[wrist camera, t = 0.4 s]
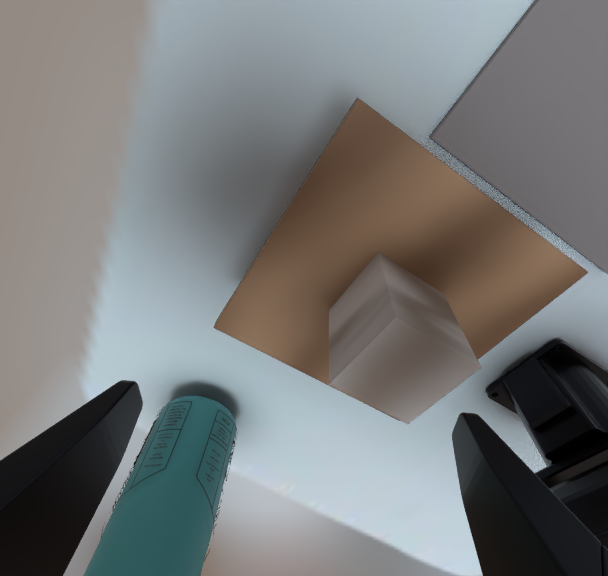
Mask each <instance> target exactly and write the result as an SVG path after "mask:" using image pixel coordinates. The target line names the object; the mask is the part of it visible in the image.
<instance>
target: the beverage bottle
mask: <svg viewBox="0 0 608 576" xmlns="http://www.w3.org/2000/svg"><path fill="white" fill-rule="evenodd" d="M158 413H159V412H158ZM159 414H160V415H159V417H158V418H157V419H156V420H155V421H154V423H153V426H152V428H151V430H150V432H149V434H148V436H147V438H146V439H145V442H144V444H143V446H142V449H141V451H140V453H139V455H138V457H137V459H136V461H135V462H134V467H133V468H134V469H133V471H132V473H131V474H130V477H129V479H127V480H128V481H127V484H126V485H125V488H124V487H123V488H124V490H123V492H122V494H121V493H120V494H121V496H120V498H119V499H118V501H117V504H116V502H115V504H116V506H115V509H114V510H113V513H112V515H111V517H110V519H109V521H108V523H107V525H106V527H105V530H104V532H103V534H102V536H101V540H100V542H99V544H98V546H97V548H96V550H95V553H94V555H93V557H92V559H91V561H90V563H89V565H88V567H87V569H86V571H85V574H84V576H200V575H201V571H202V567H203V563H204V559H205V555H206V551H207V549H208V546H209V541H210V538H211V533H212V529H213V525H214V522H215V517H216V516H217V515H216V512H217V510H218V504H219V500H220V496H221V492H222V491H223V490H222V488H223V483H224V479H225V477H226V472H227V467H228V463H230V464H231V459H232V457H230V455H233V452H232V453H231V450H232V449H233V448H232V446H233V444H234V446H235V443H236V442H234V438H236V435H235V434H236V430H237V429H236V423H235V419H234V417H233V415H232V414H231V412H230V411H229V410H228V409H227V408H226V407H224V406H223V405H222V404H220V403H218V402H216V401H214V400H212V399H209V398H205V397H201V396H183V397H179V398H176V399H174V400H172V401H170V402H169V403H168V404H167V405H166V406H165V407H163V408H162V411H161V412H160V413H159ZM157 416H158V415H157ZM147 439H148V440H147ZM146 441H147V442H146ZM235 441H236V440H235ZM145 443H146V444H145ZM144 445H145V446H144ZM234 446H233V447H234ZM233 451H234V450H233ZM229 459H230V462H229ZM136 462H137V463H136ZM135 464H136V465H135ZM229 468H230V467H229ZM226 481H227V480H226ZM125 483H126V482H125ZM113 507H114V506H113Z"/></svg>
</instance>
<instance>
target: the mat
mask: <svg viewBox="0 0 608 576" xmlns="http://www.w3.org/2000/svg"><path fill="white" fill-rule="evenodd" d="M430 138H432V139H433V140H434V141H435V142H437V143H438V144H439V145H441V146H442V147H443V148H444V149H446V150H447V151H448V152H450V153H451V154H452V155H454V156H455V157H456V158H457V159H459V160H460V161H461V162H463V163H464V164H465V165H467V166H468V167H469V168H470V169H472V170H473V171H474V172H476V173H477V174H478V175H480V176H481V177H482V178H483V179H485V180H486V181H487V182H489V183H490V184H491V185H493V186H494V187H495V188H496V189H498V190H499V191H500V192H502V193H503V194H504V195H506V196H507V197H508V198H509V199H511V200H512V201H513V202H515V203H516V204H517V205H519V206H520V207H521V208H522V209H524V210H525V211H526V212H528V213H529V214H530V215H532V216H533V217H534V218H535V219H537V220H538V221H539V222H541V223H542V224H543V225H545V226H546V227H547V228H548V229H550V230H551V231H552V232H554V233H555V234H556V235H558V236H559V237H560V238H561V239H563V240H564V241H565V242H567V243H568V244H569V245H570V246H572V247H573V248H574V249H576V250H577V251H578V252H580V253H581V254H582V255H583V256H585V257H586V258H587V259H589V260H590V261H591V262H593V263H594V264H595V265H596V266H598V267H599V268H600V269H602V270H603V271H604V272H606V273H607V274H608V0H535V2H534V3H533V4H532V5H531V7H530V8H529V9H528V11H527V12H526V13H525V14H524V16H523V17H522V18H521V20H520V21H519V22H518V23H517V25H516V26H515V27H514V29H513V30H512V31H511V32H510V34H509V35H508V36H507V38H506V39H505V40H504V41H503V43H502V44H501V45H500V47H499V48H498V49H497V50H496V52H495V53H494V54H493V56H492V57H491V58H490V59H489V61H488V62H487V63H486V65H485V66H484V67H483V68H482V70H481V71H480V72H479V74H478V75H477V76H476V78H475V79H474V80H473V81H472V83H471V84H470V85H469V87H468V88H467V89H466V90H465V92H464V93H463V94H462V96H461V97H460V98H459V99H458V101H457V102H456V103H455V105H454V106H453V107H452V108H451V110H450V111H449V112H448V114H447V115H446V116H445V117H444V119H443V120H442V121H441V123H440V124H439V125H438V126H437V128H436V129H435V130H434V132H433V133H432V134H431V135H430Z"/></svg>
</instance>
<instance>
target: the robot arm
mask: <svg viewBox="0 0 608 576" xmlns="http://www.w3.org/2000/svg"><path fill="white" fill-rule="evenodd" d="M557 347H558V348H557ZM486 393H487V395H488V397H489V398H490V399H492V400H494V401H495V402H497V403H499V404H501V405H502V406H504V407H506V408H508V409H510V410H511V411H513V412H515V413H517V414H518V415H519V417H520V418H521V420H522V422H523V424H524V426H525V427H526V429H527V431H528V433H529V435H530V437H531V438H532V440H533V442H534V444H535V446H536V447H537V449H538V451H539V453H540V455H541V457H542V458H543V460H544V462H545V464H546V466H547V467H546V468H544V469H542V470H540V471H538V472H536V473H534V472H533V471H532V470H531V469H530V468H529V467H528V466H527V465H526V464H525V463H524V462H523V461H522V460H521V459H520V458H519V457H518V456H517V455H516V454H515V453H514V452H513V451H512V450H511V448H510V447H509V446H508V445H507V444H506V443H505V442H504V441H503V440H502V439H501V438H500V437H499V436H498V435H497V434H496V433H495V432H494V431H493V430H492V429H491V428H490V427H489V426H488V425H487V423H486V422H485V421H484V420H483V419H482V418H481V417H480V416H479V415H477V414H474V413H461V414H460V415H459V417H458V419H457V422H456V425H455V427H454V430H453V433H452V441H453V447H454V454H455V460H456V466H457V472H458V478H459V484H460V490H461V495H462V500H463V504H464V508H465V512H466V515H467V519H468V523H469V526H470V530H471V533H472V537H473V541H474V544H475V548H476V552H477V555H478V559H479V563H480V566H481V570H482V573H483V576H608V371H607V370H606V369H604V368H603V367H601V366H600V365H598V364H597V363H595V362H594V361H592V360H591V359H589V358H588V357H586V356H585V355H583V354H582V353H580V352H579V351H577V350H576V349H574V348H573V347H571V346H570V345H568V344H567V343H565V342H564V341H562V340H554V341H552V342H551V343H549V344H548V345H547V346H545V347H544V348H542V349H541V350H540V351H538V352H537V353H535V354H534V355H533V356H531V357H530V358H529V359H527V360H526V361H524V362H523V363H522V364H520V365H519V366H518V367H516V368H515V369H513V370H512V371H511V372H509V373H508V374H506V375H505V376H504V377H502V378H501V379H500V380H498V381H497V382H495V383H494V384H493V385H491V386H490V387H489V388H487V390H486ZM142 405H143V401H142V397H141V394H140V390H139V387H138V384H137V383H136V382H135V381H127V380H122V381H119V382H118V383H116V384H115V385H113V386H112V387H110V388H109V389H107V390H106V391H104V392H103V393H101V394H100V395H98V396H97V397H95V398H94V399H92V400H91V401H89V402H88V403H86V404H85V405H83V406H82V407H80V408H79V409H77V410H76V411H74V412H73V413H71V414H70V415H68V416H67V417H65V418H64V419H62V420H61V421H59V422H58V423H56V424H55V425H53V426H52V427H50V428H49V429H47V430H46V431H44V432H43V433H41V434H40V435H38V436H37V437H35V438H34V439H32V440H31V441H29V442H28V443H26V444H24V445H23V446H21V447H20V448H19V449H17V450H16V451H14V452H13V453H11V454H10V455H8V456H6V457H5V458H3V459H2V460H0V576H63V574H64V572H65V570H66V568H67V567H68V565H69V563H70V561H71V559H72V557H73V555H74V553H75V551H76V549H77V547H78V545H79V543H80V541H81V539H82V537H83V535H84V533H85V531H86V529H87V527H88V525H89V523H90V521H91V520H92V518H93V516H94V514H95V512H96V510H97V508H98V505H99V504H100V502H101V500H102V498H103V496H104V494H105V492H106V490H107V488H108V486H109V484H110V482H111V480H112V479H113V476H114V475H115V473H116V471H117V469H118V466H119V464H120V463H121V460H122V458H123V456H124V453H125V451H126V448H127V446H128V443H129V440H130V438H131V435H132V433H133V430H134V428H135V425H136V422H137V420H138V417H139V415H140V412H141V410H142Z"/></svg>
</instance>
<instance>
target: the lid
mask: <svg viewBox="0 0 608 576" xmlns="http://www.w3.org/2000/svg"><path fill="white" fill-rule="evenodd" d="M587 273H588V272H587V271H586V270H585V269H583V268H582V267H581V266H580V265H578V264H577V263H576V262H574V261H573V260H572V259H570V258H569V257H568V256H566V255H565V254H564V253H562V252H561V251H560V250H558V249H557V248H556V247H554V246H553V245H552V244H551V243H549V242H548V241H547V240H545V239H544V238H543V237H541V236H540V235H539V234H537V233H536V232H535V231H533V230H532V229H531V228H529V227H528V226H527V225H525V224H524V223H523V222H521V221H520V220H519V219H517V218H516V217H515V216H514V215H512V214H511V213H510V212H508V211H507V210H506V209H504V208H503V207H502V206H500V205H499V204H498V203H496V202H495V201H494V200H492V199H491V198H490V197H488V196H487V195H486V194H484V193H483V192H482V191H480V190H479V189H478V188H476V187H475V186H474V185H473V184H471V183H470V182H469V181H467V180H466V179H465V178H463V177H462V176H461V175H459V174H458V173H457V172H455V171H454V170H453V169H451V168H450V167H449V166H447V165H446V164H445V163H443V162H442V161H441V160H439V159H438V158H437V157H435V156H434V155H433V154H432V153H430V152H429V151H428V150H426V149H425V148H424V147H422V146H421V145H420V144H418V143H417V142H416V141H414V140H413V139H412V138H410V137H409V136H408V135H406V134H405V133H404V132H402V131H401V130H400V129H398V128H397V127H396V126H395V125H393V124H392V123H391V122H389V121H388V120H387V119H385V118H384V117H383V116H381V115H380V114H379V113H377V112H376V111H375V110H373V109H372V108H371V107H369V106H368V105H367V104H365V103H364V102H363V101H361V100H360V99H359V98H357V99H356V100H355V102H354V103H353V105H352V107H351V108H350V110H349V111H348V113H347V115H346V116H345V118H344V119H343V121H342V122H341V124H340V126H339V127H338V129H337V130H336V132H335V134H334V135H333V137H332V138H331V140H330V141H329V143H328V145H327V146H326V148H325V149H324V151H323V153H322V154H321V156H320V157H319V159H318V160H317V162H316V164H315V165H314V167H313V168H312V170H311V172H310V173H309V175H308V176H307V178H306V179H305V181H304V183H303V184H302V186H301V187H300V189H299V191H298V192H297V194H296V195H295V197H294V198H293V200H292V202H291V203H290V205H289V206H288V208H287V210H286V211H285V213H284V214H283V216H282V217H281V219H280V221H279V222H278V224H277V225H276V227H275V229H274V230H273V232H272V233H271V235H270V236H269V238H268V240H267V241H266V243H265V244H264V246H263V247H262V249H261V251H260V252H259V254H258V255H257V257H256V259H255V260H254V262H253V263H252V265H251V266H250V268H249V270H248V271H247V273H246V274H245V276H244V278H243V279H242V281H241V282H240V284H239V285H238V287H237V289H236V290H235V292H234V293H233V295H232V297H231V298H230V300H229V301H228V303H227V304H226V306H225V308H224V309H223V311H222V312H221V314H220V316H219V317H218V319H217V321H216V323H215V325H214V328H215V329H217V330H219V331H221V332H223V333H225V334H227V335H229V336H231V337H233V338H235V339H237V340H239V341H241V342H243V343H245V344H247V345H249V346H251V347H253V348H255V349H257V350H259V351H261V352H263V353H265V354H267V355H269V356H271V357H273V358H275V359H277V360H279V361H281V362H283V363H285V364H287V365H289V366H291V367H293V368H295V369H297V370H299V371H301V372H303V373H305V374H307V375H309V376H311V377H313V378H315V379H317V380H319V381H321V382H323V383H325V384H327V385H329V386H331V387H333V388H335V389H337V390H339V391H341V392H343V393H345V394H347V395H349V396H351V397H353V398H355V399H357V400H359V401H361V402H363V403H365V404H367V405H369V406H371V407H373V408H375V409H377V410H379V411H381V412H383V413H385V414H387V415H389V416H391V417H393V418H395V419H397V420H399V421H402V422H404V423H406V424H409V423H410V422H411V421H413V420H414V419H415V418H416V417H418V416H419V415H420V414H422V413H423V412H424V411H426V410H427V409H428V408H429V407H431V406H432V405H433V404H435V403H436V402H437V401H439V400H440V399H441V398H442V397H444V396H445V395H446V394H448V393H449V392H450V391H452V390H453V389H454V388H455V387H457V386H458V385H459V384H461V383H462V382H463V381H465V380H466V379H467V378H469V377H470V376H471V375H472V374H474V373H475V372H476V371H478V370H479V369H480V368H481V366H480V364H479V362H478V359H479V358H480V357H482V356H483V355H484V354H485V353H487V352H488V351H489V350H490V349H492V348H493V347H494V346H496V345H497V344H498V343H499V342H501V341H502V340H503V339H504V338H506V337H507V336H508V335H510V334H511V333H512V332H513V331H515V330H516V329H517V328H518V327H520V326H521V325H522V324H524V323H525V322H526V321H527V320H529V319H530V318H531V317H532V316H534V315H535V314H536V313H537V312H539V311H540V310H541V309H543V308H544V307H545V306H546V305H548V304H549V303H550V302H551V301H553V300H554V299H555V298H557V297H558V296H559V295H560V294H562V293H563V292H564V291H565V290H567V289H568V288H569V287H571V286H572V285H573V284H574V283H576V282H577V281H578V280H579V279H581V278H582V277H583V276H584V275H586V274H587Z"/></svg>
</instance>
